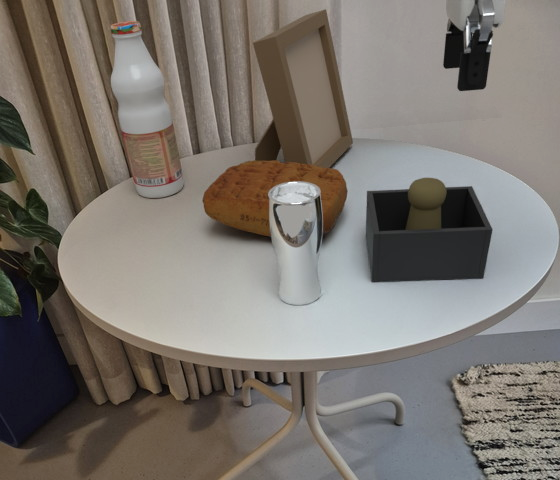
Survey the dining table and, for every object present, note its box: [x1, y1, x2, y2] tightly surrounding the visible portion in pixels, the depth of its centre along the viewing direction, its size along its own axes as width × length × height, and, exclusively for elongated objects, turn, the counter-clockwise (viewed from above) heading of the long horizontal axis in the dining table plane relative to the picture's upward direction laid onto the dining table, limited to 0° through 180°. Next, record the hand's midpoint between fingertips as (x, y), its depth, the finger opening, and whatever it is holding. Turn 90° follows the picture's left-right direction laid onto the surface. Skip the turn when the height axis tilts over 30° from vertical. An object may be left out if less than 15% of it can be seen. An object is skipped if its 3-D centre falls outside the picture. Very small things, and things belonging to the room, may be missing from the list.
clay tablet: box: [202, 160, 348, 238], centre depth 95 cm, size 22×17×8 cm
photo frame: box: [252, 8, 354, 168], centre depth 108 cm, size 15×22×25 cm
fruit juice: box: [110, 20, 185, 199], centre depth 103 cm, size 9×9×28 cm
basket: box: [365, 185, 494, 283], centre depth 84 cm, size 16×14×8 cm
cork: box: [405, 177, 447, 230], centre depth 82 cm, size 6×6×11 cm
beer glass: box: [268, 181, 324, 306], centre depth 76 cm, size 7×7×15 cm
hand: (463, 77), depth 71 cm, fingers open, 9 cm apart
